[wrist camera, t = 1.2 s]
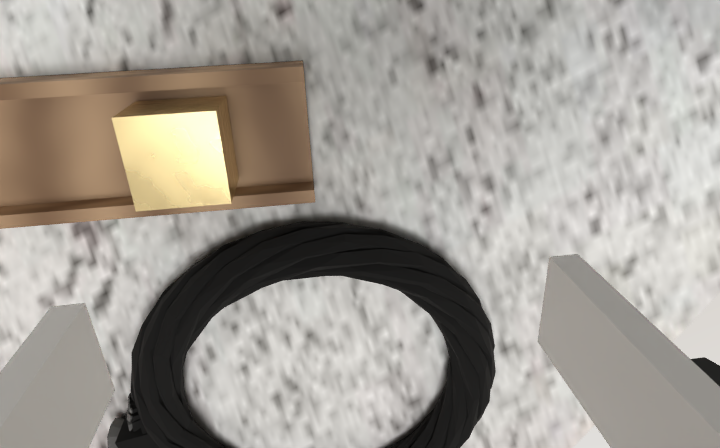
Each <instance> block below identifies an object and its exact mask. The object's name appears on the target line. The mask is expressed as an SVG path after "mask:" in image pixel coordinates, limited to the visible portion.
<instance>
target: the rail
mask: <svg viewBox="0 0 720 448" xmlns="http://www.w3.org/2000/svg"><path fill="white" fill-rule="evenodd" d="M213 96H226V98H227V104H228V110H229V117H230V123H231V130H232V136H233V142H234V149H235V155H236V162H237V168H238V175H239V180H238V184H237V187H236V190H235V194H234V197H233V200H232V204H220V205H208V206H196V207H184V208H171V209H159V210H147V211H136V210H135V206H134V202H133V198H132V195H131V191H130V187H129V183H128V179H127V175H126V172H125V168H124V164H123V160H122V156H121V152H120V149H119V145H118V141H117V137H116V133H115V129H114V125H113V122H112V117H113V116H115V115H116V114H118V113H119V112H121V111H122V110H124V109H125V108H127V107H128V106H130V105H131V104H132V103H134V102H135V101H150V100H166V99H182V98H197V97H213ZM312 202H315V194H314V184H313V172H312V161H311V149H310V138H309V127H308V115H307V104H306V92H305V80H304V68H303V61H289V62H272V63H255V64H238V65H220V66H203V67H186V68H169V69H151V70H134V71H117V72H99V73H82V74H65V75H48V76H30V77H13V78H0V229H2V228H14V227H26V226H38V225H50V224H62V223H74V222H86V221H98V220H110V219H121V218H133V217H145V216H157V215H169V214H181V213H193V212H205V211H217V210H229V209H240V208H252V207H264V206H276V205H288V204H300V203H312Z"/></svg>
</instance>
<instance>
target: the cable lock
mask: <svg viewBox="0 0 720 448" xmlns="http://www.w3.org/2000/svg"><path fill="white" fill-rule="evenodd" d="M319 276H346V277H351V278H355V279H360V280H364V281H369V282H374V283H378V284H383V285H386V286H389V287H391V288H394V289H397V290H399V291H401V292H402V293H404V294H405V295H406V296H407V297H409V298H410V299H411V300H413V301H414V302H415V303H416V304H418V305H419V306H420V307H422V308H423V309H424V310H425V311H427V312H428V313H429V314H430V315H431V316H432V318H433V319H434V321H435V322H436V324H437V326H438V327H439V329H440V330H441V332H442V333H443V336H444V338H445V341H446V345H447V348H448V352H449V356H450V358H449V367H448V375H447V382H446V385H445V388H444V390H443V392H442V395H441V397H440V399H439V401H438V403H437V405H436V407H435V409H434V410H433V411H432V412H431V413H430V414H429V415H428V417H427V418H426V419H425V420H424V421H423V422H422V423H421V425H420V426H419V427H418V428H417V429H416V430H415V431H414V433H413V434H411V435H409V436H407V437H406V438H404V439H403V440H401V441H399V442H398V443H396V444H395V445H393V446H392V447H390V448H460V447H461V446H462V445H463V444H464V443H465V441H466V440H467V439H468V438H469V437H470V435H471V433H472V430H473V428H474V426H475V425H476V424H477V422H478V421H479V420H480V418H481V417H482V415H483V413H484V411H485V409H486V407H487V405H488V403H489V400H490V389H491V388H492V384H493V380H494V376H495V372H496V371H495V361H494V347H495V345H494V339H493V333H492V327H491V323H490V321H489V320H488V318H487V316H486V314H485V313H484V311H483V309H482V307H481V303H480V300H479V298H478V297H477V295H476V294H475V293H474V291H473V290H472V288H471V287H470V285H469V284H468V283H467V281H466V280H465V279H464V278H463V277H461V276H460V275H459V274H457V273H456V272H455V271H454V270H453V269H452V268H451V267H450V266H449V265H448V263H447V262H446V261H445V260H444V259H443V258H441V257H439V256H438V255H436V254H435V253H433V252H432V251H430V250H428V249H427V248H425V247H424V246H422V245H420V244H419V243H415V242H413V241H410V240H408V239H405V238H403V237H400V236H398V235H395V234H392V233H390V232H387V231H385V230H382V229H375V228H368V227H361V226H354V225H348V224H345V223H332V222H300V223H296V224H292V225H287V226H283V227H278V228H274V229H269V230H263V231H260V232H258V233H255V234H252V235H250V236H247V237H245V238H242V239H239V240H237V241H234V242H231V243H229V244H226V245H224V246H222V247H221V248H219V249H218V250H216V251H215V252H213V253H212V254H210V255H209V256H207V257H206V258H204V259H203V260H201V261H200V262H198V263H197V264H195V265H194V266H192V267H191V268H190V269H189V270H188V271H187V272H186V273H185V274H183V275H182V276H181V277H180V278H179V279H178V280H176V281H175V282H174V283H173V284H172V285H171V286H169V287H168V288H167V289H166V290H165V291H164V292H163V294H162V295H161V297H160V298H159V300H158V301H157V303H156V304H155V306H154V308H153V309H152V311H151V312H150V314H149V315H148V317H147V318H146V320H145V322H144V323H143V325H142V327H141V330H140V332H139V335H138V337H137V340H136V343H135V345H134V348H133V351H132V374H131V393H130V394H129V396H128V398H129V399H128V410H127V414H126V416H125V419H124V418H115V420H114V421H113V423H112V424H111V426H110V429H109V433H108V437H107V438H108V448H225V447H224V446H222V445H221V444H220V443H218V442H217V441H215V440H214V439H212V438H211V437H210V436H209V435H208V434H207V433H206V432H205V431H204V430H203V429H201V428H200V427H199V426H198V425H197V424H196V422H195V421H194V419H193V417H192V416H191V413H190V410H189V407H188V404H187V401H186V399H185V392H184V381H183V370H182V368H183V364H184V361H185V357H186V354H187V351H188V349H189V348H190V347H191V345H192V344H193V343H194V341H195V340H196V339H197V337H198V336H199V335H200V333H201V332H202V331H203V329H204V328H205V327H206V325H207V324H208V322H209V321H210V320H211V318H212V317H213V316H215V315H216V314H217V313H218V312H219V311H220V310H222V309H223V308H224V307H226V306H228V305H230V304H232V303H234V302H236V301H238V300H239V299H241V298H243V297H245V296H247V295H249V294H251V293H253V292H255V291H257V290H259V289H260V288H262V287H265V286H268V285H271V284H274V283H277V282H280V281H283V280H292V279H301V278H310V277H319Z"/></svg>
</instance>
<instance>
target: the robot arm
mask: <svg viewBox="0 0 720 448" xmlns="http://www.w3.org/2000/svg"><path fill="white" fill-rule="evenodd" d="M538 343H539V344H540V346H541V347H542V349H543V350H544V351H545V353H546V354H547V356H548V357H549V359H550V360H551V362H552V363H553V365H554V366H555V367H556V369H557V370H558V372H559V373H560V375H561V376H562V378H563V379H564V381H565V382H566V383H567V385H568V386H569V388H570V389H571V391H572V392H573V394H574V395H575V396H576V398H577V399H578V401H579V402H580V404H581V405H582V407H583V408H584V410H585V411H586V412H587V414H588V415H589V417H590V418H591V420H592V421H593V423H594V424H595V426H596V427H597V428H598V430H599V431H600V433H601V434H602V435H603V437H604V439H605V440H606V441H607V443H608V444H609V446H610V447H611V448H720V366H719V365H717V364H716V363H714V362H712V361H710V360H708V359H707V358H697V359H690V358H688V357H687V356H686V355H685V354H684V353H683V352H682V351H681V350H680V349H679V348H678V347H677V346H676V345H674V344H673V343H672V342H671V341H670V340H669V339H668V338H667V337H666V336H665V335H664V334H663V333H662V332H661V331H660V330H658V329H657V328H656V327H655V326H654V325H653V324H652V323H651V322H650V321H649V320H648V319H647V318H646V317H645V316H643V315H642V314H641V313H640V312H639V311H638V310H637V309H636V308H635V307H634V306H633V305H632V304H631V303H630V302H628V301H627V300H626V299H625V298H624V297H623V296H622V295H621V294H620V293H619V292H618V291H617V290H616V289H615V288H613V287H612V286H611V285H610V284H609V283H608V282H607V281H606V280H605V279H604V278H603V277H602V276H601V275H600V274H598V273H597V272H596V271H595V270H594V269H593V268H592V267H591V266H590V265H589V264H588V263H587V262H586V261H585V260H583V259H582V258H581V257H580V256H579V255H578V254H574V255H563V256H553V257H549V264H548V271H547V278H546V286H545V293H544V300H543V307H542V314H541V321H540V328H539V335H538ZM114 391H115V389H114V386H113V383H112V380H111V377H110V374H109V371H108V368H107V366H106V363H105V360H104V357H103V354H102V351H101V348H100V345H99V342H98V339H97V336H96V334H95V331H94V328H93V325H92V322H91V319H90V316H89V313H88V310H87V307H86V305H85V303H82V304H72V305H62V306H52V307H51V308H50V309H49V310H48V312H47V313H46V314H45V316H44V317H43V318H42V319H41V321H40V322H39V323H38V325H37V326H36V327H35V328H34V330H33V331H32V332H31V334H30V335H29V336H28V337H27V339H26V340H25V341H24V343H23V344H22V345H21V346H20V348H19V349H18V350H17V352H16V353H15V354H14V355H13V357H12V358H11V359H10V361H9V362H8V363H7V364H6V366H5V367H4V368H3V370H2V371H1V372H0V448H89V446H90V444H91V441H92V439H93V437H94V435H95V433H96V431H97V428H98V426H99V424H100V422H101V420H102V417H103V415H104V413H105V411H106V409H107V406H108V404H109V402H110V400H111V398H112V395H113V393H114Z"/></svg>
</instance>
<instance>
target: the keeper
mask: <svg viewBox="0 0 720 448" xmlns="http://www.w3.org/2000/svg"><path fill="white" fill-rule="evenodd" d="M112 122H113V125H114V129H115V133H116V137H117V141H118V145H119V149H120V152H121V156H122V160H123V164H124V168H125V172H126V175H127V179H128V183H129V187H130V191H131V195H132V198H133V202H134V206H135V210H136V211H147V210H159V209H171V208H184V207H196V206H208V205H220V204H232V200H233V197H234V194H235V190H236V187H237V184H238V180H239V175H238V168H237V162H236V155H235V149H234V142H233V136H232V130H231V123H230V117H229V110H228V104H227V98H226V96H213V97H197V98H182V99H166V100H150V101H135V102H134V103H132V104H131V105H130V106H128V107H127V108H125V109H124V110H122V111H121V112H119V113H118V114H116V115H115V116H113V117H112Z"/></svg>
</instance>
